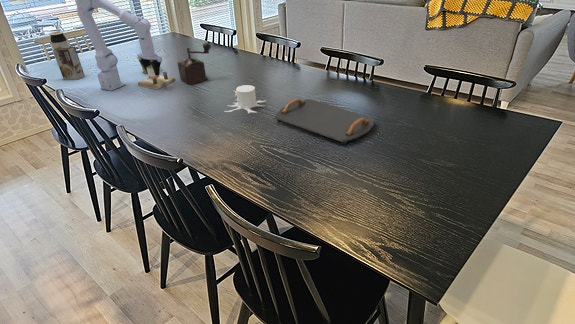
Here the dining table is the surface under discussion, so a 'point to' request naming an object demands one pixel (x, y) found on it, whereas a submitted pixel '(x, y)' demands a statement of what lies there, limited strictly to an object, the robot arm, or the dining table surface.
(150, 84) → the pin board
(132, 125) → the dining table surface
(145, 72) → the plant pot
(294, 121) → the serving board
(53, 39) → the travel mug
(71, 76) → the coffee box
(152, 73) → the sleeve
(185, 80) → the manual coffee grinder
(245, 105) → the tree stump
